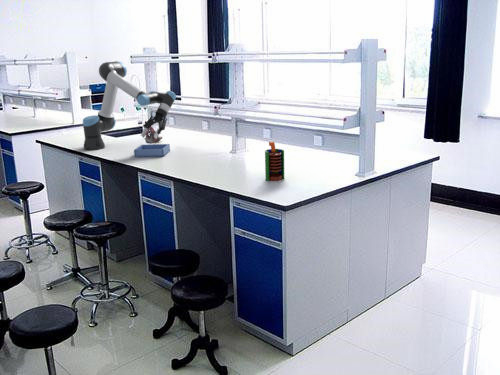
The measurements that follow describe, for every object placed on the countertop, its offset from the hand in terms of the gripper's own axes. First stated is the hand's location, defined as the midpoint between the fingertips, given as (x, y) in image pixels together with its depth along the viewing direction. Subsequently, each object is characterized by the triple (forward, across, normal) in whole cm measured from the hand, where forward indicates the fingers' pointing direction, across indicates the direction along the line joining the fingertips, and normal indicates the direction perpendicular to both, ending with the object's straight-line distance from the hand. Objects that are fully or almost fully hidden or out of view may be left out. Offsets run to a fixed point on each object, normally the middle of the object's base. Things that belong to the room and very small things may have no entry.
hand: (148, 137), depth 344 cm
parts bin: (+7, 0, -11) cm, 13 cm away
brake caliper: (+1, 0, -6) cm, 6 cm away
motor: (+20, -109, +1) cm, 111 cm away
